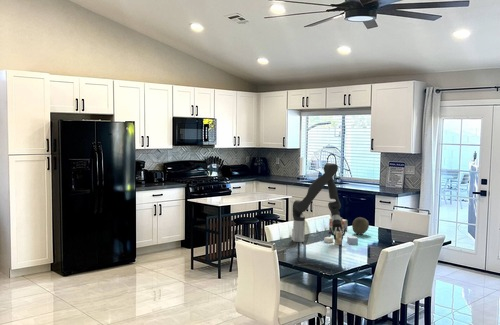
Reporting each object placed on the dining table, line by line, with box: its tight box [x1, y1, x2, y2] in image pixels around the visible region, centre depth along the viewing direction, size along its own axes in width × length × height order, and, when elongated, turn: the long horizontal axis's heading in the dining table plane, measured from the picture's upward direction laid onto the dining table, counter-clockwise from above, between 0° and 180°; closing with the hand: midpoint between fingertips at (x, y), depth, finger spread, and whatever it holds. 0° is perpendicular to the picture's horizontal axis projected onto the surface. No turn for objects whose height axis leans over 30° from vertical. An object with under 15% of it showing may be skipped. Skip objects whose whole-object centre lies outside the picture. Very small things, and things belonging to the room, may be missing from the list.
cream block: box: [323, 236, 334, 243], centre depth 389 cm, size 5×5×4 cm
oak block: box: [334, 231, 343, 246], centre depth 381 cm, size 4×4×10 cm
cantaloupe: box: [351, 216, 370, 235], centre depth 422 cm, size 14×14×15 cm
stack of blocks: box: [328, 217, 349, 233], centre depth 435 cm, size 21×6×12 cm, turn 137°
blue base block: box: [346, 235, 359, 245], centre depth 386 cm, size 7×7×5 cm
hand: (338, 239), depth 379 cm, fingers closed on oak block, 4 cm apart
